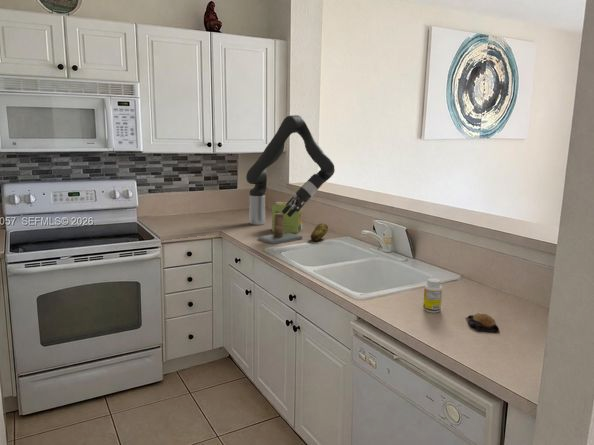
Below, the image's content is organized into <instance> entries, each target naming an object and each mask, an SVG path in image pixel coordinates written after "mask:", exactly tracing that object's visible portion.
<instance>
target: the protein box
mask: <svg viewBox="0 0 594 445" xmlns="http://www.w3.org/2000/svg"><path fill="white" fill-rule="evenodd" d="M287 202H288V201H287ZM287 202H286V201H285V202H284V201H276V202H275V203H273V204H272V206H271V208H272V209H271V216H272V217H271V218H272V219H271V231H272V233H274V216H275V213H282V210H283V209H284V208H285V207H286V203H287ZM288 204H289V203H288ZM291 209H292V208H290V209H289V210H288V211H287V212H286V213H285V214H284V215H283V232H289V233H292V234H299V233H300V232H301V231H302V230H303V207H302V208H301V209H300V210H299V211H298V212H297V211H296V212H294V214H293V215H292V216H291V217H289V216H288V215H287V213H288V212H289V211H290V210H291ZM282 214H283V213H282Z"/></svg>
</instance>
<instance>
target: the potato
mask: <svg viewBox="0 0 594 445" xmlns="http://www.w3.org/2000/svg"><path fill="white" fill-rule="evenodd" d="M328 231H329V226H328V225H327V224H325V223H319V224H317V225H316V226H315V227H314V229H313V231H312V232H311V234H310V239H311V241H313V242H317V241H319V240H321V239H322V238H323V237H324V236H325V235H327V233H328Z"/></svg>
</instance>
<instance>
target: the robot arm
mask: <svg viewBox="0 0 594 445" xmlns="http://www.w3.org/2000/svg"><path fill="white" fill-rule="evenodd" d="M295 133H296V134H298V135H299V136H300V137H301V138H302V140H303V144H304V148H305V150H306V153H307V154H308V156H309V157H310V158H311V159H312V160H313V162H314V164H315V163H316V165H317V167H318V168H320V170H318V172H317V173H314V174H312V175H311V176H310V177H309V178H308V179H307V181H306V182H304V184H302V185H301V186H300V187H299V189H298V190H297V191H296V192H295V195H296V196H292V197H291V198H290V199H289V200H288V201H287V203H286V207H285V208H284V209H283V210H282V213H283V214H285V213H286V212H287V211H288V210H289V209H290V208H292V209H291V210H290V211H289V212H288V213H287V215H288V216H289V217H291V216H292V215H293V214H294V212H296V211H297V212H298V211H299V210H300V209H301V208H302V209H303V208H304V207H303V206H304V205H305V204H306V203H308V202H309V201H310V199H311V198H312V197H313V196H314V195H315V194H316V192H317V191H318V190H319V189H320V188H321V187H322V185H323V184H325V182H327V181H328V180H329V179H330V178H332V177H333V175H334V173H335V170H336V169H335V165H334V162H333V161H332V160H331V158H330V157H328V156H327V154H326V153H325V152H324V151H323V149H322V148H321V146H320V145H319V144H318V143H317V141H316V140H315V138H314V136H313V134H312V133H311V130H310V129H309V127H308V124H307V123H306V121H305V120H304V118H303V117H302V116H301V115H297V114H295V115H294V114H293V115H288V116H286V117H285V118H284V119H283V120H282V122H281V124H280V126H279V128H278V129H277V131H276V132H275V134H274V136H273V138H271V140H270V141H269V143H268V144H267V146H265V149H264V150H263V151H262V153H261V155H260V156H259V157H258V159H256V161H255V163H254V164H253V165H252V166H250V168H249V169H248V171H247V172H246V177H245V178H246V182H247V183H249V184H250V185H254V187H253V188H251V189H250V190H249V207H248V223H249V224H250V225H255V226H258V225H265V224H266V192H267V184H268V180H267V179H268V174H267V170H266V169H267V168H270V166H272V165H273V164H274V163H276V161H278V160H279V158H280V157H281V156H282V155H283V153H284V151H285V145H286V144H285V143H286V141H287V139H288V138H289V137H290V136H291V135H292V134H295ZM288 203H289V204H288Z"/></svg>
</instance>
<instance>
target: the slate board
mask: <svg viewBox="0 0 594 445" xmlns="http://www.w3.org/2000/svg"><path fill="white" fill-rule="evenodd" d="M257 240H259V241H262V242H264V243H268V244H271V245H277V244H282V243H288V242H294V241H298V240H300V241H301V240H303V236H302V235H300V234H297V233H289V232H283V237H282V238H276V237H274V233H273V234H267V235H261V236H258V237H257Z"/></svg>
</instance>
